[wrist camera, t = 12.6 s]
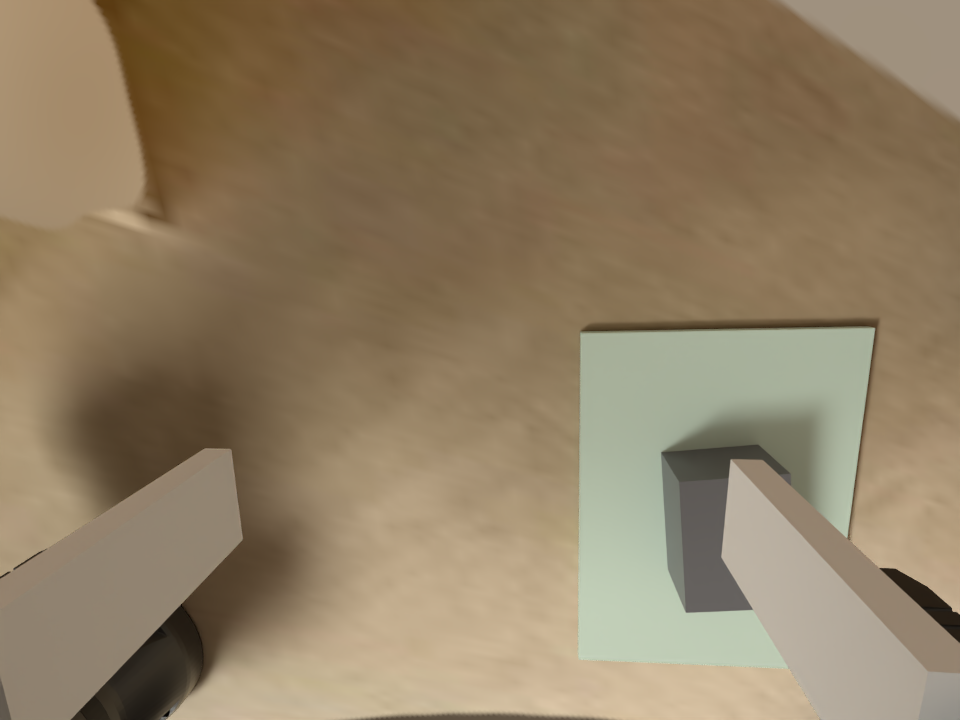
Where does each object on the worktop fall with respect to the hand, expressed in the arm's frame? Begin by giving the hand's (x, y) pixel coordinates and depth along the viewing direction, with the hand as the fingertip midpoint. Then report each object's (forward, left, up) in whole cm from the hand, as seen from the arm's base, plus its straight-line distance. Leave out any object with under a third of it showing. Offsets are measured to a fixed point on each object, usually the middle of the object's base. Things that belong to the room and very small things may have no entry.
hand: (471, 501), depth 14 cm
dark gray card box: (+15, -14, -26) cm, 33 cm away
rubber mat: (+15, -14, -26) cm, 34 cm away
